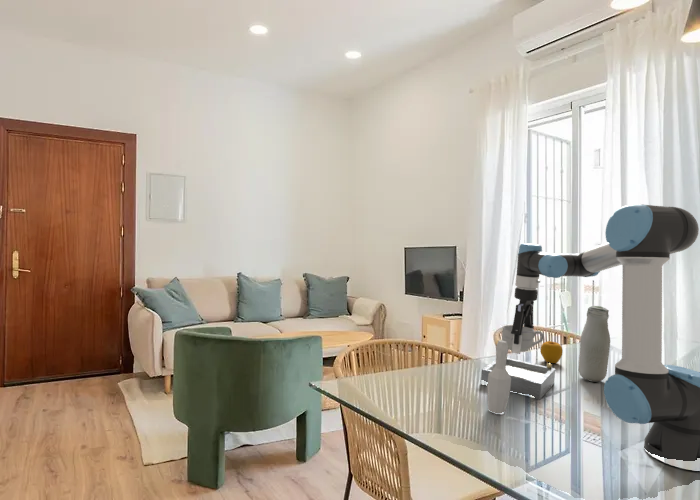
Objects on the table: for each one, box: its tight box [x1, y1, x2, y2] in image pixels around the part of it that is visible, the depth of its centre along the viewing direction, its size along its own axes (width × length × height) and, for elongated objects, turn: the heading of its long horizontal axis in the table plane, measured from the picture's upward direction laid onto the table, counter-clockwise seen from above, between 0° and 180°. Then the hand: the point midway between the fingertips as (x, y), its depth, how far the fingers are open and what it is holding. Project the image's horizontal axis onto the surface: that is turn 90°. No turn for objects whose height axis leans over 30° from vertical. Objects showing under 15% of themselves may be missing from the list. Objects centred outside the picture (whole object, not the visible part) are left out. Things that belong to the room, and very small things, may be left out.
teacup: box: [501, 324, 545, 353], centre depth 173 cm, size 14×11×8 cm
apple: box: [540, 340, 563, 364], centre depth 201 cm, size 9×8×9 cm
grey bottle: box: [578, 305, 611, 382], centre depth 181 cm, size 10×10×28 cm
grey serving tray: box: [480, 357, 556, 401], centre depth 174 cm, size 20×20×7 cm
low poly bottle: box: [486, 339, 511, 413], centre depth 148 cm, size 6×6×22 cm
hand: (520, 349), depth 173 cm, fingers closed on teacup, 11 cm apart
